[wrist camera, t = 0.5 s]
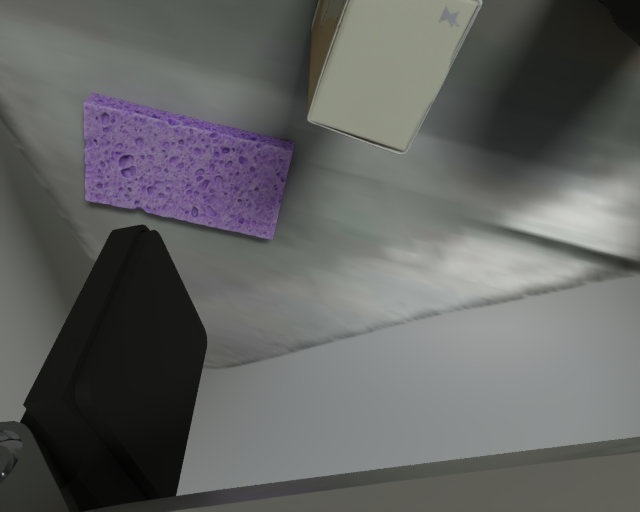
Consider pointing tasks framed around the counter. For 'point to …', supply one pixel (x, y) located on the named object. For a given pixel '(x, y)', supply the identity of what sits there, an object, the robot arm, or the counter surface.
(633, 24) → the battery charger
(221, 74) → the counter surface
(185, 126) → the sponges
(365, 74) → the skincare box
